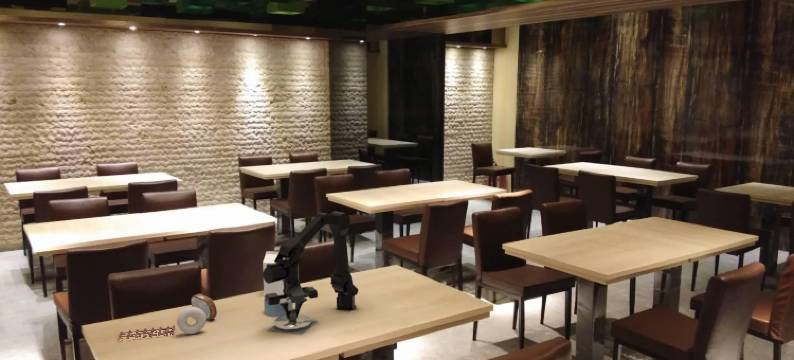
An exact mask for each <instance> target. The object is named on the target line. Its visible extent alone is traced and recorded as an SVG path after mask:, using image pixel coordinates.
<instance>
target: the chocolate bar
mask: <svg viewBox="0 0 794 360" xmlns="http://www.w3.org/2000/svg"><path fill="white" fill-rule="evenodd" d="M169 329H172V330H171V331H169ZM156 330H159V332H158V336H160V335H164V334H166V337H169V336H168V333H170V335H171V334H172V335H174V336H175V332H174V331H175V330H176V324H174V325H172V326H170V325H167V326H166V327H162V326H159V327H158V328H155V327H151V329H150V328H149V329H147V328H143V330H139V328H136V330H133V331H132V330H131V329H128V331H120V332H119V335H118V337H119V338H117V339H118V340H120V339H123V338H121V337H127V338H126V339H129V337H135V338H138V337H141V334H143V337H142V338H145V337H147V335H145V334H148V335H149V337H152V336H157V334H153V332H154V331H156ZM161 330H165V331H163V333H161ZM147 331H151V332H147ZM132 332H136V334H130V333H132ZM138 332H143V333H138ZM146 332H147V333H146ZM125 333H128V334H127V336H122V335H126V334H125ZM155 333H157V331H156V332H155ZM130 335H131V336H130ZM133 335H135V336H133ZM137 335H139V336H137ZM118 340H117V341H118Z"/></svg>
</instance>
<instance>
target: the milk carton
mask: <svg viewBox="0 0 794 360" xmlns="http://www.w3.org/2000/svg"><path fill="white" fill-rule="evenodd" d="M278 252H279V251H269V250H268V251H266V252H265V256H264V259H263V261H262V262H263V263H262V266H263V267H262V269H263V270H262V271H263V272H264V269H265V268H266V265H267V264H273V263H275V262H274V260H275V258H276V256H277V254H278ZM283 259H284V260H286V259H285V258H283ZM263 272H262V273H263ZM283 290H284V285H283V280H281V281H277V282H274V283H270V284H268V283H266V281H265V280H264V279H263V291H264V293H263V295H264V297H265V296H266V294H270V293H276V294H278V295H282V294H284V293H283Z"/></svg>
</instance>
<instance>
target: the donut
mask: <svg viewBox="0 0 794 360" xmlns="http://www.w3.org/2000/svg"><path fill="white" fill-rule="evenodd" d="M191 317H194V318H195V319H196V321H195V323H193V324H189V323H188V319H189V318H191ZM206 322H207V320H206V316H205V313H204V312H203V311H202V310H201V309H200V308H197V307H192V306H190V307H186V308H184V309H182V310H181V312H180V313H179V314H178V316H177V318H176V325H177V327H178V329H179V331H181V332H182V333H184V334H186V335H194V334H197V333H199V332H201V331H202V329H204V328H205V326H206V324H207V323H206Z"/></svg>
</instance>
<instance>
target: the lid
mask: <svg viewBox="0 0 794 360" xmlns="http://www.w3.org/2000/svg"><path fill="white" fill-rule="evenodd" d="M311 320H312V318H311V317H310V316H309V315H305V314H302V313H299V315H298V318H297V317H296V309H295V308H293V309H289V319H287V317H286V315H284V316H280V317H275V319H274V320H273V325H274V326H275V327H277V328H280V329H287V330H291V329H299V328H303V327H306V326H308V325H309V324H310V323H311Z"/></svg>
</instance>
